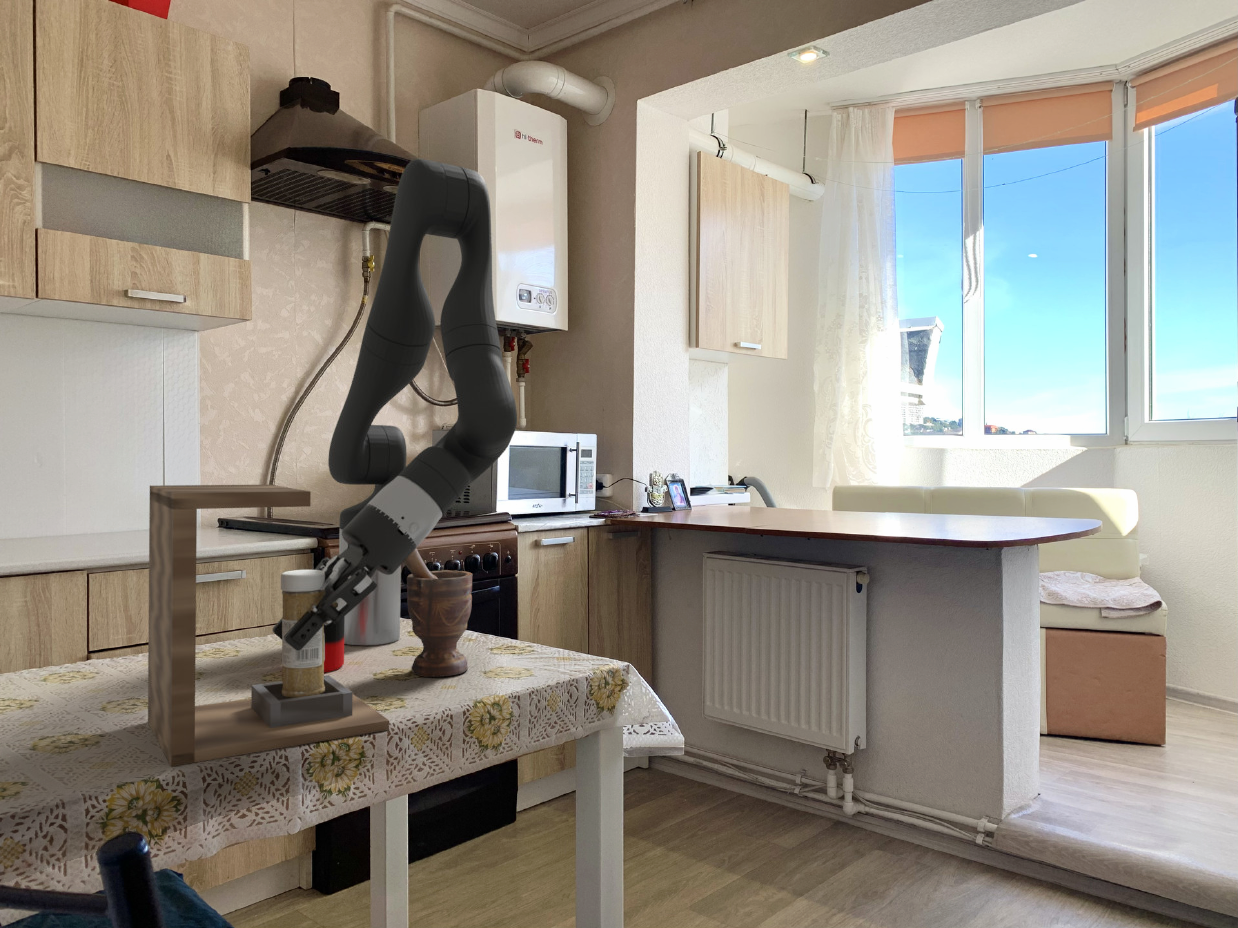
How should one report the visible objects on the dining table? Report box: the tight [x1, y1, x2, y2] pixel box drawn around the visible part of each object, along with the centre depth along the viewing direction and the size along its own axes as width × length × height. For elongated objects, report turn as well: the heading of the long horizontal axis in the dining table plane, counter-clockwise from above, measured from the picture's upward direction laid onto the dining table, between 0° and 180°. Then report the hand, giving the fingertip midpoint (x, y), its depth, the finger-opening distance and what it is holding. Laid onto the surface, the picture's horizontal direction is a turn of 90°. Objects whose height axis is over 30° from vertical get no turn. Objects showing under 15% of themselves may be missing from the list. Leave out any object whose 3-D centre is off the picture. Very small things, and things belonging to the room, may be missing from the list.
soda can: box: [324, 616, 345, 674], centre depth 122 cm, size 8×8×12 cm
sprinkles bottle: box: [280, 569, 325, 698], centre depth 98 cm, size 5×5×13 cm
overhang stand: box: [147, 484, 390, 767], centre depth 96 cm, size 16×21×26 cm
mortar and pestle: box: [403, 547, 473, 678], centre depth 120 cm, size 12×9×20 cm
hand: (284, 640), depth 97 cm, fingers closed on sprinkles bottle, 4 cm apart
